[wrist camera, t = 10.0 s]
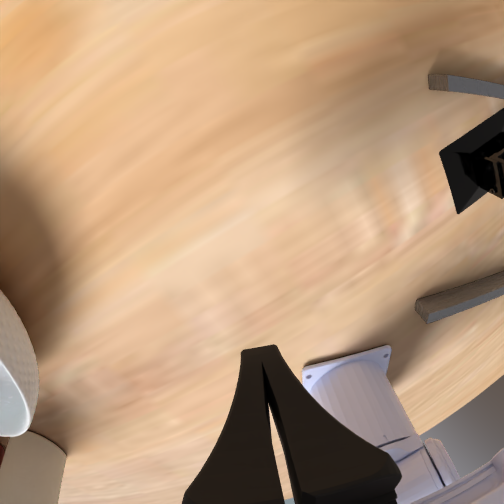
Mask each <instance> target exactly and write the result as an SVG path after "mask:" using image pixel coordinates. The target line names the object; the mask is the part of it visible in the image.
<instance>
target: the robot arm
mask: <svg viewBox="0 0 504 504" xmlns="http://www.w3.org/2000/svg"><path fill="white" fill-rule="evenodd" d="M391 351H392V348H391V347H390V346H389V345H385V346H382V347H378V348H375V349H372V350H368V351H365V352H361V353H357V354H354V355H350V356H346V357H342V358H339V359H335V360H331V361H327V362H322V363H318V364H314V365H310V366H306V367H304V368H303V369H302V384H301V383H300V381H299V380H298V379H297V378H296V376H295V375H294V374H293V372H292V371H291V369H290V368H289V366H288V365H287V363H286V362H285V360H284V359H283V357H282V355H281V353H280V351H279V349H278V347H277V346H276V345H268V346H263V347H257V348H251V349H245V350H243V351H242V352H241V365H240V372H239V378H238V383H237V387H236V391H235V395H234V399H233V402H232V405H231V408H230V412H229V414H228V417H227V420H226V422H225V425H224V427H223V430H222V432H221V434H220V436H219V438H218V441H217V443H216V445H215V447H214V449H213V451H212V452H211V454H210V456H209V457H208V459H207V461H206V462H205V464H204V466H203V467H202V469H201V471H200V472H199V474H198V475H197V477H196V478H195V479H194V481H193V482H192V483H191V485H190V486H189V487H188V489H187V490H186V492H185V494H184V497H183V501H182V504H285V502H284V497H283V493H282V488H281V484H280V479H279V474H278V469H277V465H276V460H275V455H274V450H273V445H272V438H271V427H270V416H269V406H270V410H271V413H272V416H273V419H274V422H275V425H276V429H277V432H278V435H279V438H280V441H281V444H282V447H283V451H284V455H285V460H286V464H287V469H288V474H289V478H290V483H291V488H292V492H293V497H294V501H295V504H504V448H503V449H502V450H500V451H499V452H498V453H497V454H496V455H495V456H494V457H493V458H492V460H491V461H489V462H488V463H486V464H484V465H483V466H481V467H480V468H478V469H476V470H475V471H473V472H471V473H469V474H468V475H466V476H464V477H463V478H460V476H459V474H458V472H457V470H456V468H455V466H454V464H453V462H452V461H451V459H450V457H449V455H448V453H447V451H446V449H445V448H444V446H443V444H442V443H441V441H440V440H437V439H432V438H429V439H427V440H425V444H426V446H427V448H428V450H429V453H428V451H427V449H426V447H425V445H424V443H423V442H422V440H421V439H420V437H419V435H418V434H417V433H416V431H415V429H414V427H413V425H412V423H411V421H410V419H409V417H408V415H407V414H406V412H405V410H404V408H403V406H402V404H401V402H400V401H399V399H398V397H397V395H396V393H395V391H394V390H393V388H392V386H391V384H390V382H389V380H388V379H387V377H386V373H387V369H388V365H389V360H390V356H391ZM268 403H269V406H268ZM429 454H430V455H431V457H430V455H429ZM431 458H432V459H431ZM445 486H446V487H445Z"/></svg>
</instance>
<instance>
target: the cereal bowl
mask: <svg viewBox="0 0 504 504" xmlns="http://www.w3.org/2000/svg"><path fill="white" fill-rule="evenodd" d="M38 391H39V371H38V364H37V361H36V355H35V353H34V349H33V346H32V344H31V341H30V338H29V336H28V334H27V331H26V329H25V327H24V325H23V324H22V321H21V319H20V317H19V316H18V315H17V312H16V311H15V309H14V307H13V306H12V305H11V303H10V301H9V300H8V298H7V297H6V296H5V295H4V294H3V292H2V291H1V290H0V436H4V437H15V436H19V435H21V434H23V433H25V432H26V431H27V429H28V428H29V427H30V425H31V422H32V420H33V415H34V413H35V408H36V406H37V399H38Z"/></svg>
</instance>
